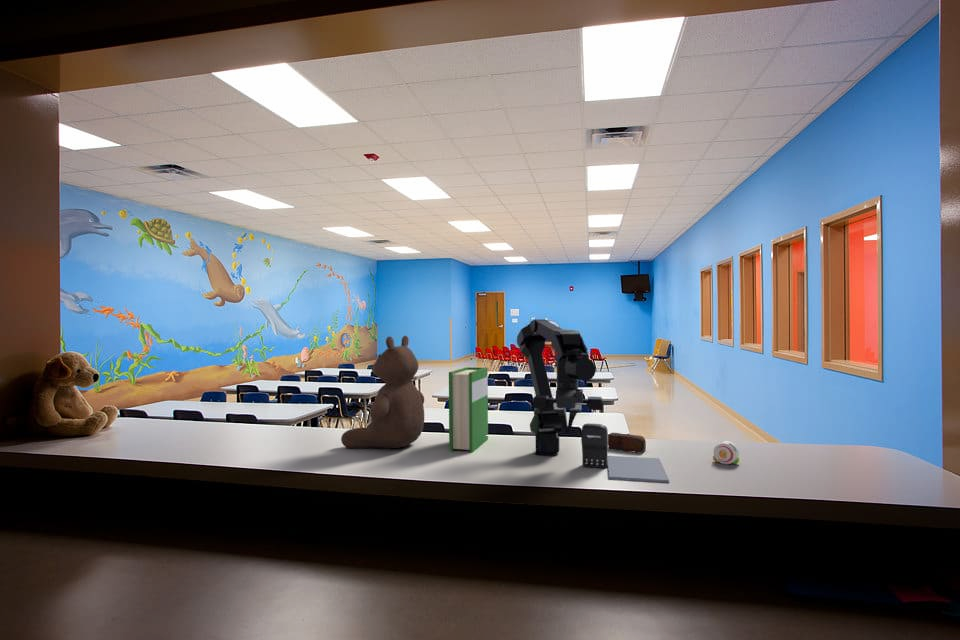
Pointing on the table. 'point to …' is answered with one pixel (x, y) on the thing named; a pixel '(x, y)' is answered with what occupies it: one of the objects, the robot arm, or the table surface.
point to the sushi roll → (726, 453)
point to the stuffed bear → (392, 403)
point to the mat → (636, 469)
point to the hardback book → (468, 408)
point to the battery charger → (594, 445)
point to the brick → (626, 442)
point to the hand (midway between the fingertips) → (567, 434)
